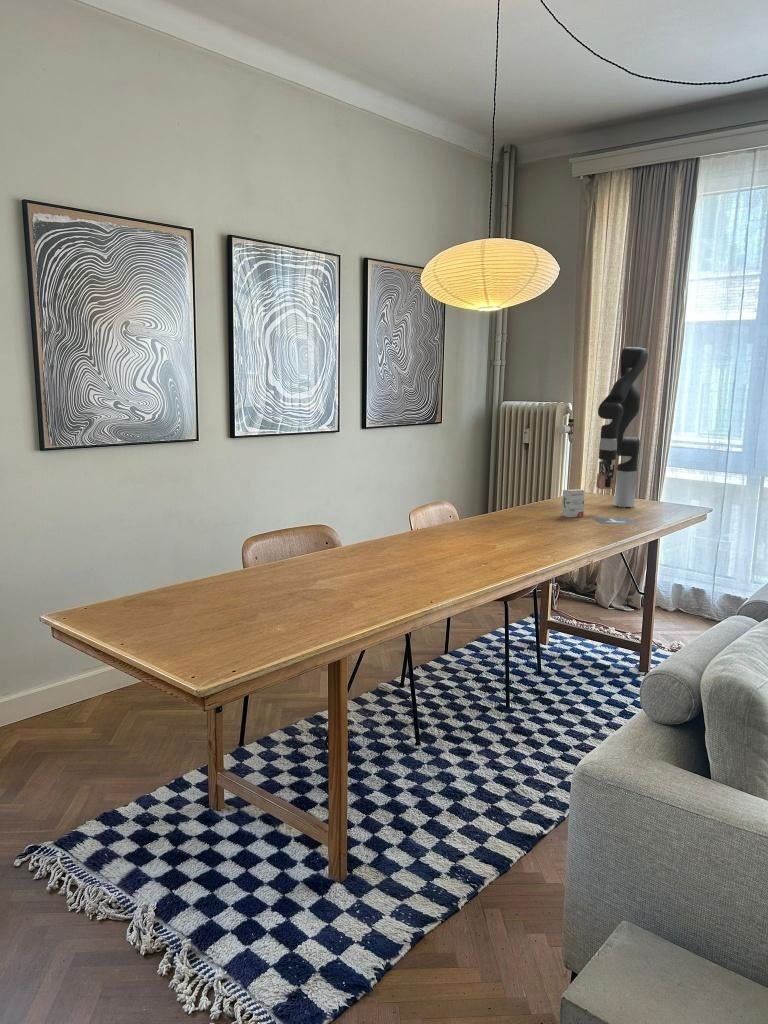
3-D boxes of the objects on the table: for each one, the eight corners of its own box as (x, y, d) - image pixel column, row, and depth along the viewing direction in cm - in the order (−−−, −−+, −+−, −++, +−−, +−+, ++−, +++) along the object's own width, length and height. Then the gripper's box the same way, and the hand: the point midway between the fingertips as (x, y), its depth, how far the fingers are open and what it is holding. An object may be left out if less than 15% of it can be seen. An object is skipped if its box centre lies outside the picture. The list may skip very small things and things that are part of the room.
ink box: (576, 514, 345) (578, 488, 343) (583, 516, 340) (585, 490, 338) (560, 516, 341) (562, 489, 339) (568, 518, 337) (569, 491, 334)
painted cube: (596, 487, 346) (597, 473, 345) (609, 487, 346) (610, 473, 345) (600, 488, 340) (601, 475, 339) (613, 489, 340) (614, 475, 339)
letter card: (589, 517, 339) (589, 516, 339) (625, 517, 340) (625, 517, 339) (600, 524, 323) (600, 523, 323) (638, 525, 324) (638, 524, 324)
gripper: (594, 446, 347) (591, 483, 350) (604, 450, 332) (602, 488, 335) (610, 447, 347) (608, 484, 350) (621, 450, 333) (619, 488, 336)
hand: (605, 486), depth 343 cm, fingers closed on painted cube, 6 cm apart
